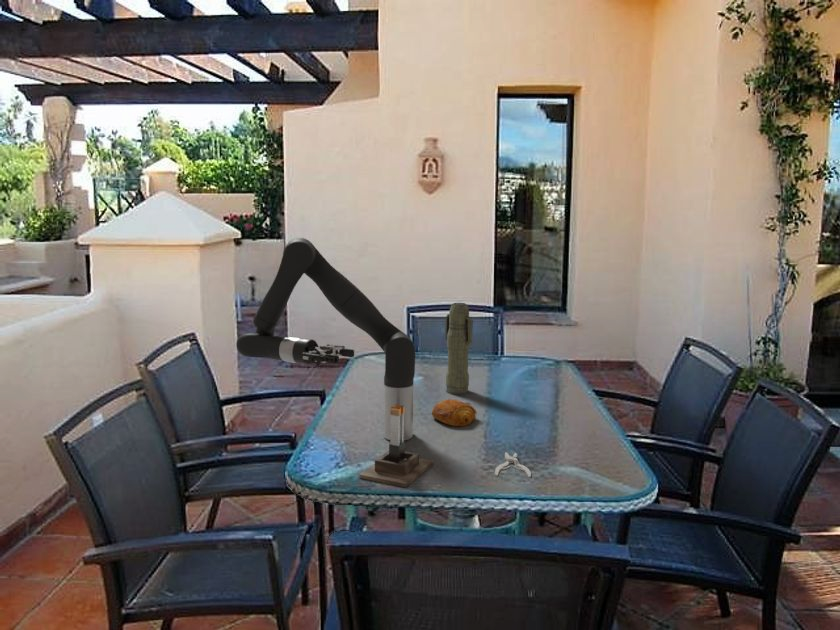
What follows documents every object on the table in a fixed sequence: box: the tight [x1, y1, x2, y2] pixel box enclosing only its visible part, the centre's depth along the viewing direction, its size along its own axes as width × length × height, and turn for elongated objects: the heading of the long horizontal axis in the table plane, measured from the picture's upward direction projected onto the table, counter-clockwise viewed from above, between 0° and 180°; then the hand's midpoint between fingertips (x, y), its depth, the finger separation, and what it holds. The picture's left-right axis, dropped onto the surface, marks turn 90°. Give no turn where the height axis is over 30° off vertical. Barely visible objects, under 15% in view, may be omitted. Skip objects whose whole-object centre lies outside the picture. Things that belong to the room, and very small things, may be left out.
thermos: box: [445, 302, 474, 395], centre depth 268 cm, size 9×12×35 cm
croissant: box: [431, 398, 478, 427], centre depth 236 cm, size 14×16×8 cm
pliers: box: [494, 452, 532, 478], centre depth 197 cm, size 10×2×15 cm
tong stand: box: [358, 450, 434, 488], centre depth 192 cm, size 18×14×4 cm
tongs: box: [388, 405, 407, 464], centre depth 190 cm, size 5×4×18 cm
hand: (346, 356), depth 197 cm, fingers open, 8 cm apart
